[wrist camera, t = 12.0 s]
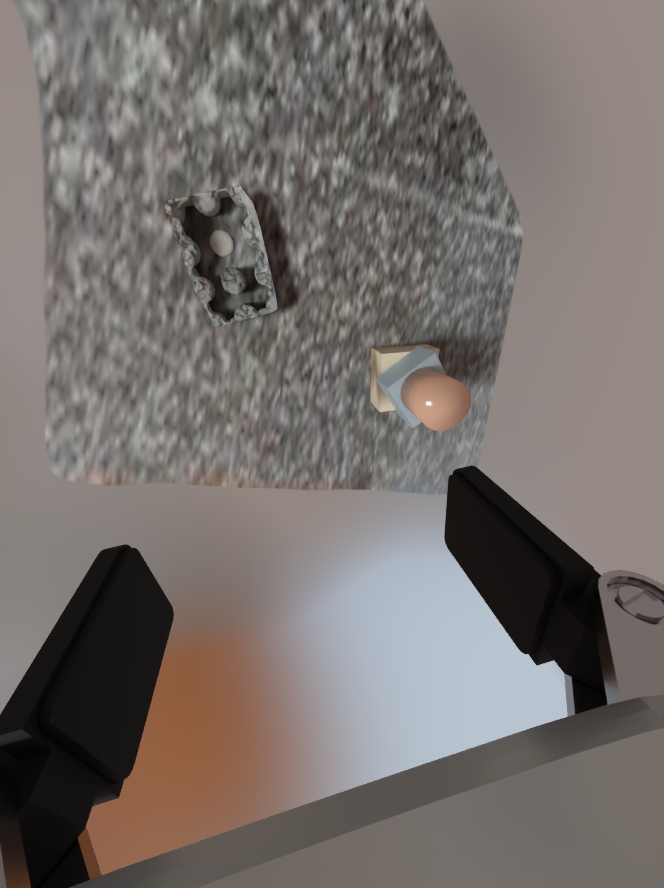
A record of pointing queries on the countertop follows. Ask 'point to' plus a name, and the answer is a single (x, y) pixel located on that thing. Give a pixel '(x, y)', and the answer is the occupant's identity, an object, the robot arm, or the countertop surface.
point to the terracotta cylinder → (435, 398)
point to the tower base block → (382, 362)
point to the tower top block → (399, 372)
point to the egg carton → (222, 251)
